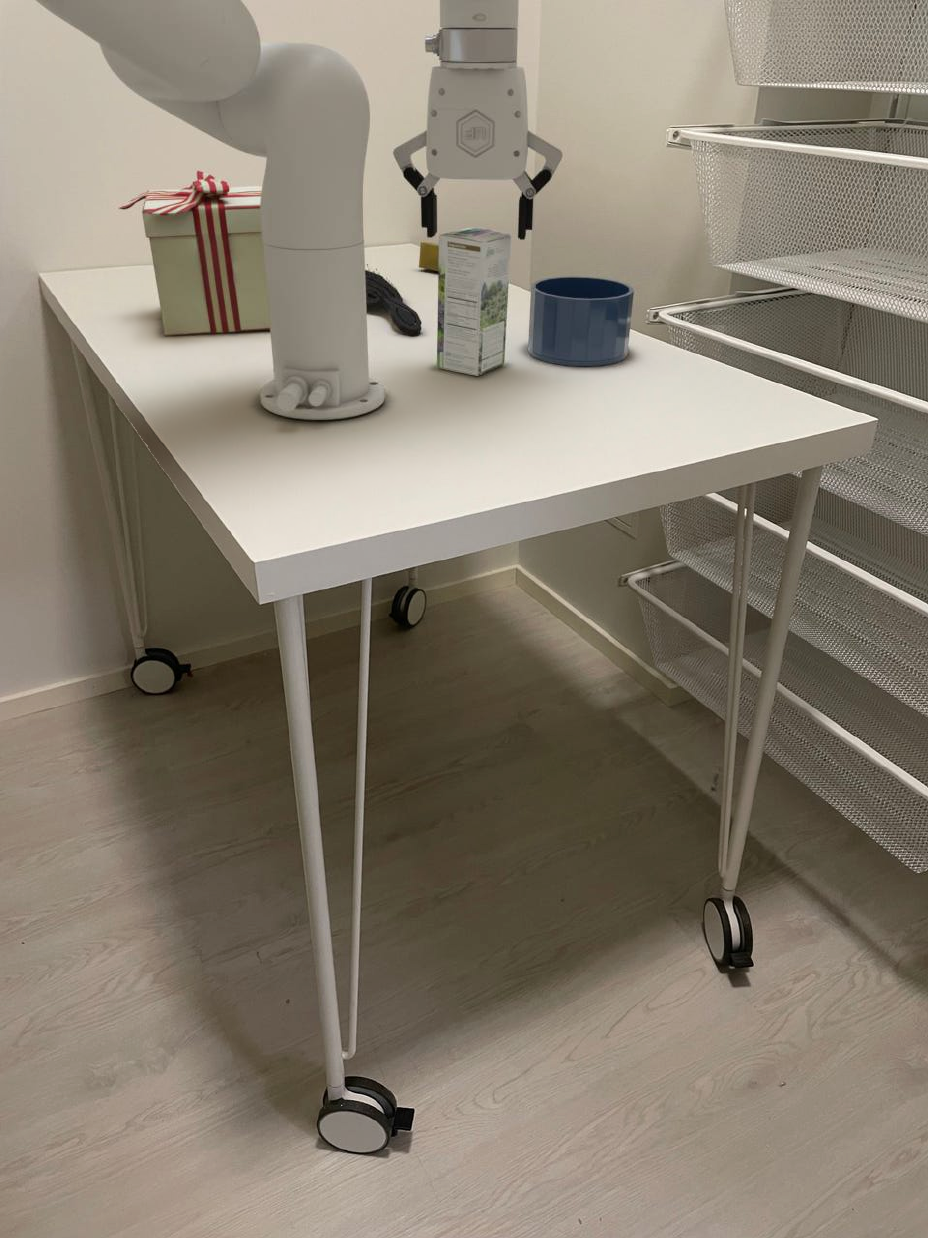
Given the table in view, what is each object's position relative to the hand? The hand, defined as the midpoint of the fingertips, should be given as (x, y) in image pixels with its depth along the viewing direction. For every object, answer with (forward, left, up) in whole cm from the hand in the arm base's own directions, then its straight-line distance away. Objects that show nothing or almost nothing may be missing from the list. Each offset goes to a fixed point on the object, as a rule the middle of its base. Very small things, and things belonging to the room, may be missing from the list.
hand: (476, 236), depth 104 cm
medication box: (+48, +8, -14) cm, 51 cm away
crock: (+8, -12, -14) cm, 20 cm away
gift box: (+14, +36, -14) cm, 41 cm away
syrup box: (0, 0, -14) cm, 14 cm away
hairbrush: (+23, +14, -14) cm, 30 cm away
